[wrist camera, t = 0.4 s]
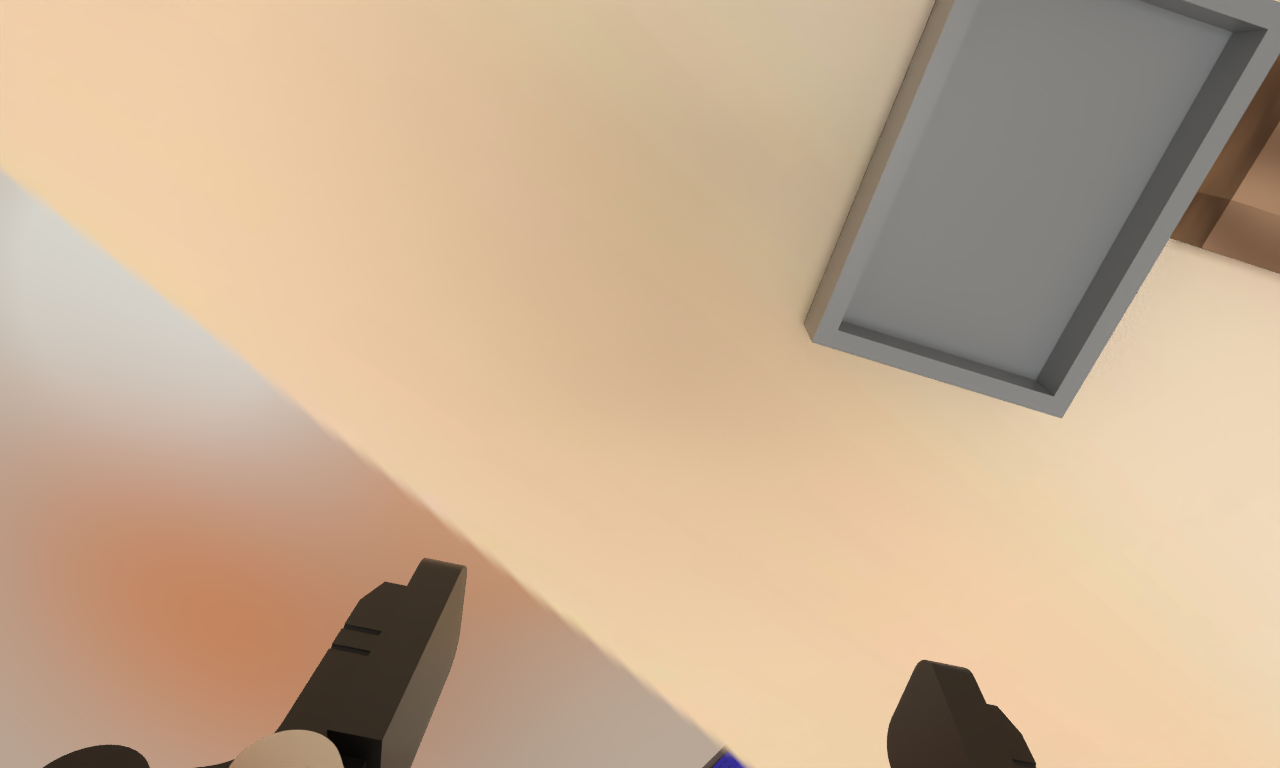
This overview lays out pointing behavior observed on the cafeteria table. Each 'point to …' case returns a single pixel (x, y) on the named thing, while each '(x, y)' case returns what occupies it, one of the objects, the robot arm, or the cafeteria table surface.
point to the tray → (1035, 184)
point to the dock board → (1243, 188)
